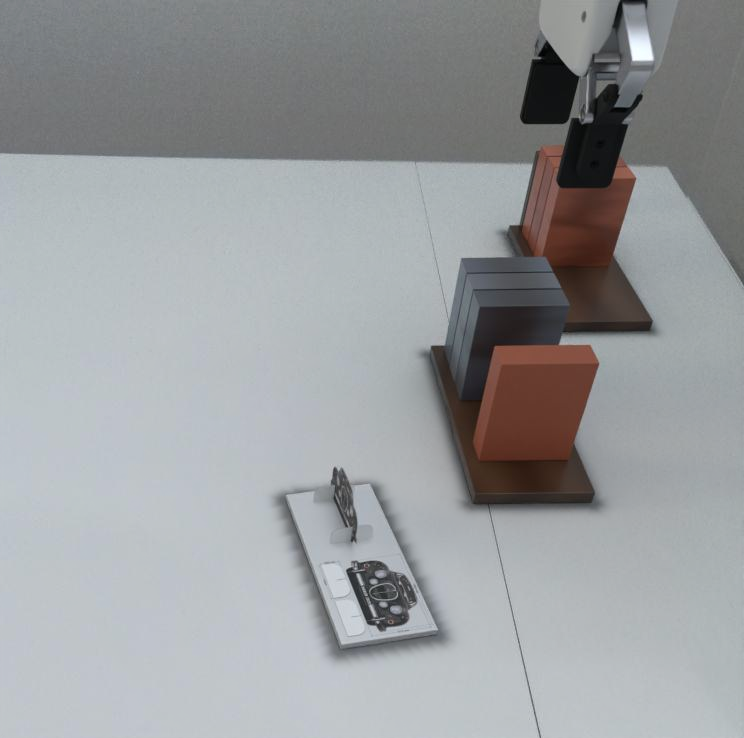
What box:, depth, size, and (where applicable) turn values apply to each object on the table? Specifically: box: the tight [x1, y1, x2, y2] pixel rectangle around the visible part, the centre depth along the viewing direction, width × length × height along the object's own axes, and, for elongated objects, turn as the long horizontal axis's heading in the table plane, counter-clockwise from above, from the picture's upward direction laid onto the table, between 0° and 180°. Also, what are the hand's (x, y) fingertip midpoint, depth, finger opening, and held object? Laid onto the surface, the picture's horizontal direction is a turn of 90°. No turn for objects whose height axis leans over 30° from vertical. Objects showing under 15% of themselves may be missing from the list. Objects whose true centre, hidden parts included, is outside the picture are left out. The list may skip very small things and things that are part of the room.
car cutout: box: [285, 466, 439, 650], centre depth 68 cm, size 15×7×4 cm, turn 11°
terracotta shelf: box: [507, 144, 654, 332], centre depth 94 cm, size 9×19×10 cm, turn 0°
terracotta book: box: [473, 344, 600, 461], centre depth 74 cm, size 7×2×9 cm, turn 90°
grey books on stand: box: [429, 256, 596, 504], centre depth 78 cm, size 9×20×10 cm, turn 0°
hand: (561, 152), depth 63 cm, fingers open, 9 cm apart
